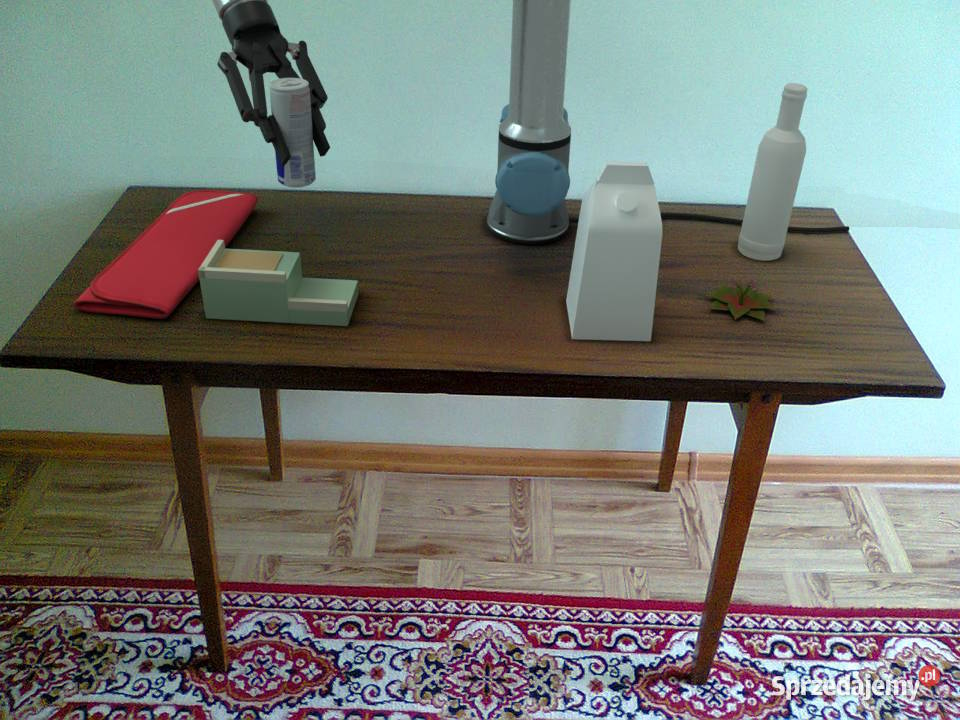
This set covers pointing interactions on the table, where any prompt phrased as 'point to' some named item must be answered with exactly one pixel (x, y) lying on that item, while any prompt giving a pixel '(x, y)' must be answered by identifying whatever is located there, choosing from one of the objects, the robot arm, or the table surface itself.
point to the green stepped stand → (271, 289)
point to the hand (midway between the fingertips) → (305, 156)
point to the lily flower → (741, 300)
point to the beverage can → (294, 130)
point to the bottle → (775, 181)
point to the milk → (616, 256)
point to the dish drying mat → (167, 255)
